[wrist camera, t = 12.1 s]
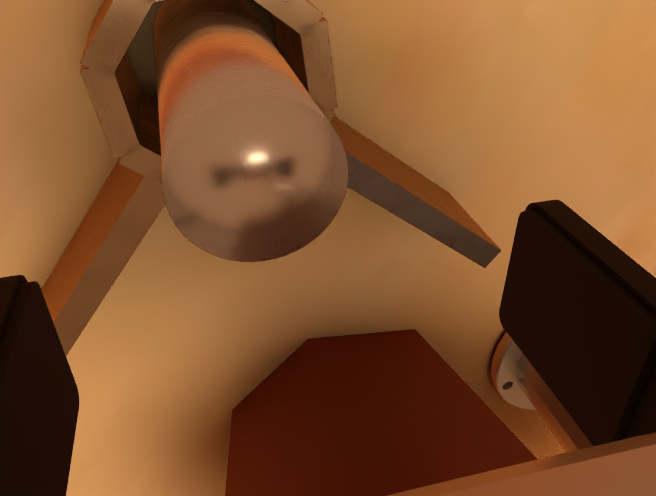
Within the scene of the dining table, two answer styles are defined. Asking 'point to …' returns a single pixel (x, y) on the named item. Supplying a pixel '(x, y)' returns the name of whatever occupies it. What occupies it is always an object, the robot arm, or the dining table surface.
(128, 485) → the dining table surface
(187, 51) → the hinge pin
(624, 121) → the dining table surface
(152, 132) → the hinge
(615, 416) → the robot arm
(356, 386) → the bucket
